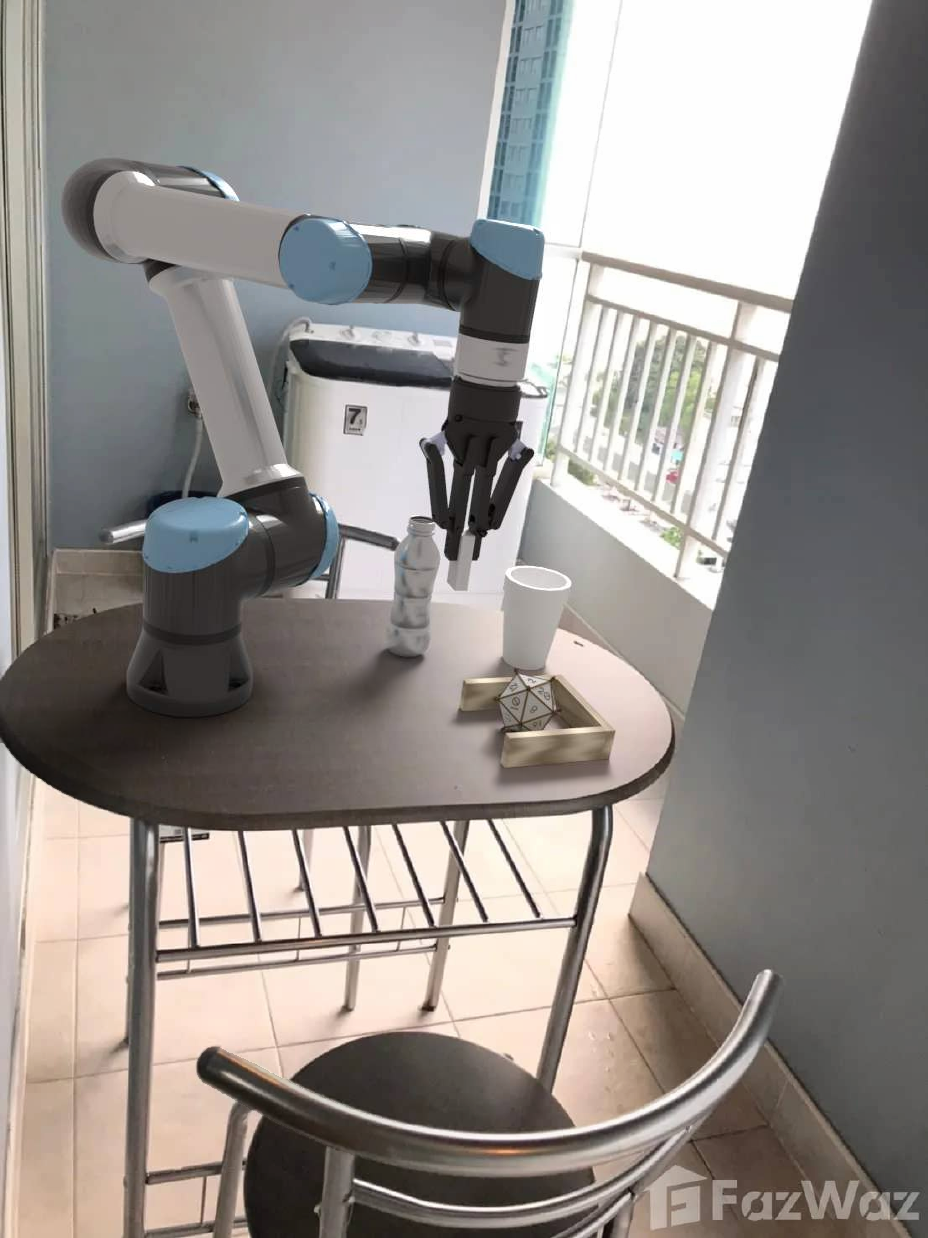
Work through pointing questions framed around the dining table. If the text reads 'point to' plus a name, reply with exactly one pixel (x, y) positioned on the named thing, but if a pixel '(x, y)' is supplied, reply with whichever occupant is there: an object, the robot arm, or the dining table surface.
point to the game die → (527, 703)
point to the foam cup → (532, 614)
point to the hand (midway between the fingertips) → (456, 586)
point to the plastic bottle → (413, 589)
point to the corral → (547, 746)
